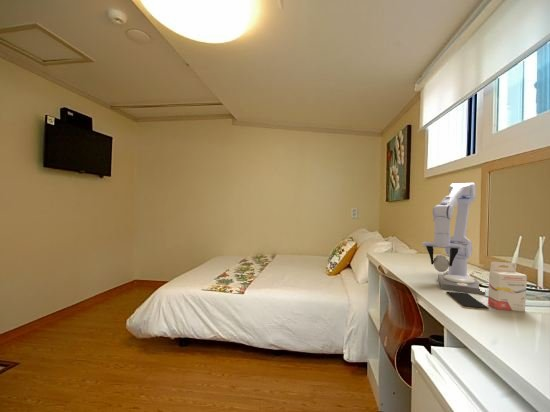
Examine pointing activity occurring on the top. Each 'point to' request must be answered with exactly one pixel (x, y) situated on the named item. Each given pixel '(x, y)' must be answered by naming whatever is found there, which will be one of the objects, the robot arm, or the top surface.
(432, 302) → the top surface
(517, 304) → the ink cartridge box
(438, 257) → the gray bumpy ball
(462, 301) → the smartphone
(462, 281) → the kitchen scale
